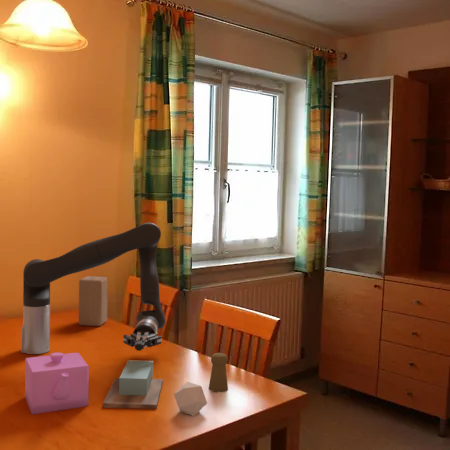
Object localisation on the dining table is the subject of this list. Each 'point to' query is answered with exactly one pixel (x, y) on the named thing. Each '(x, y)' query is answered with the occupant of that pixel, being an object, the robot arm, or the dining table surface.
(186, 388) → the die
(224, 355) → the cork
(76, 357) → the teapot
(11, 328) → the dining table surface
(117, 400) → the board
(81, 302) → the block
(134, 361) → the pillar
